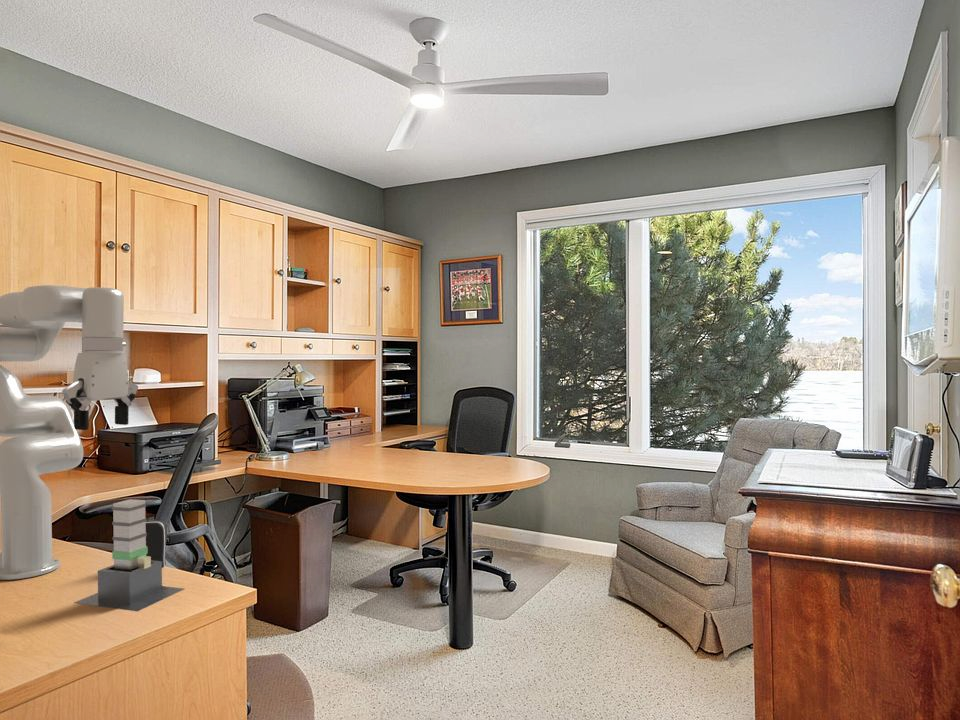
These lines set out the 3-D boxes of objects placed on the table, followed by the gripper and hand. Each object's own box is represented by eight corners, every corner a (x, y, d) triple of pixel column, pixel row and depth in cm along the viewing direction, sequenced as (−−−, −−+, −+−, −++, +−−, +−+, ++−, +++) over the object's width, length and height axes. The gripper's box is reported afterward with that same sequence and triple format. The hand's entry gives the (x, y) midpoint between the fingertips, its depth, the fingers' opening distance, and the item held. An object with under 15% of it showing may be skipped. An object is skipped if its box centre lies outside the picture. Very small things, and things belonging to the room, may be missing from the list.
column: (112, 568, 125) (111, 503, 125) (130, 561, 129) (129, 499, 129) (129, 570, 124) (128, 504, 124) (147, 563, 128) (146, 500, 128)
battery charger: (169, 566, 147) (168, 518, 147) (163, 572, 143) (163, 522, 144) (137, 568, 146) (137, 519, 146) (131, 574, 142) (130, 524, 142)
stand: (73, 607, 123) (72, 562, 123) (124, 586, 134) (124, 544, 134) (137, 616, 118) (137, 568, 118) (185, 593, 130) (184, 550, 130)
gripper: (123, 346, 141) (122, 421, 142) (50, 345, 125) (49, 430, 125) (149, 347, 139) (149, 423, 139) (78, 346, 123) (78, 432, 123)
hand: (102, 426), depth 132 cm, fingers open, 9 cm apart
